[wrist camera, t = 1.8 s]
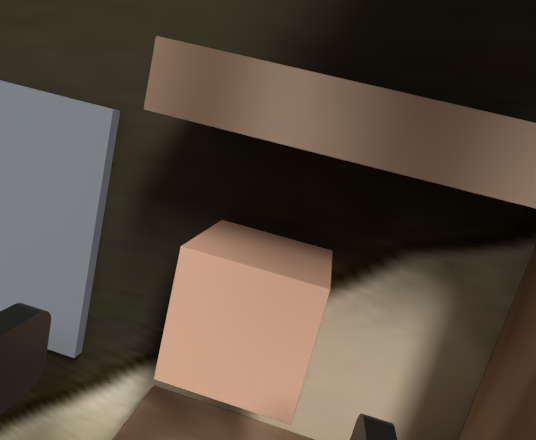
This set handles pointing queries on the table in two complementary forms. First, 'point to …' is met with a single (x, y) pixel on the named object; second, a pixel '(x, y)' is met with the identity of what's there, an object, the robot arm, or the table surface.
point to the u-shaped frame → (370, 154)
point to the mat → (52, 205)
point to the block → (244, 318)
